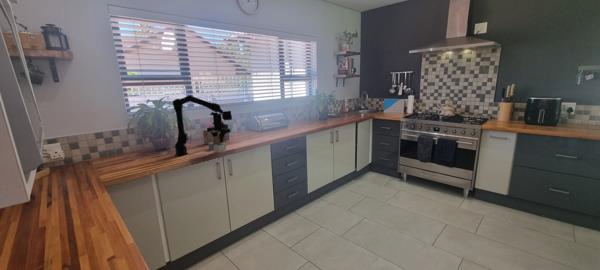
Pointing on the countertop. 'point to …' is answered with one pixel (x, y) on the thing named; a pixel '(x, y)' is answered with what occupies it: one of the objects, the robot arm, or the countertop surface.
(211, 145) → the slate brick
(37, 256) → the countertop surface
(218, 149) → the cream brick
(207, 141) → the stack of blocks
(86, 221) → the countertop surface
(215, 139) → the walnut brick
